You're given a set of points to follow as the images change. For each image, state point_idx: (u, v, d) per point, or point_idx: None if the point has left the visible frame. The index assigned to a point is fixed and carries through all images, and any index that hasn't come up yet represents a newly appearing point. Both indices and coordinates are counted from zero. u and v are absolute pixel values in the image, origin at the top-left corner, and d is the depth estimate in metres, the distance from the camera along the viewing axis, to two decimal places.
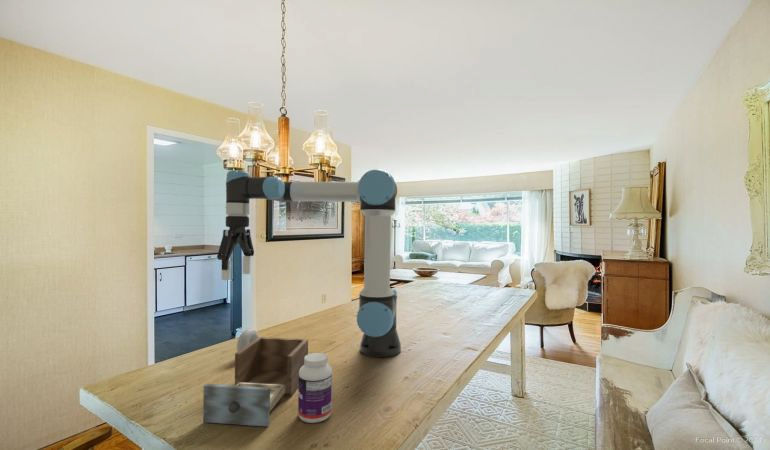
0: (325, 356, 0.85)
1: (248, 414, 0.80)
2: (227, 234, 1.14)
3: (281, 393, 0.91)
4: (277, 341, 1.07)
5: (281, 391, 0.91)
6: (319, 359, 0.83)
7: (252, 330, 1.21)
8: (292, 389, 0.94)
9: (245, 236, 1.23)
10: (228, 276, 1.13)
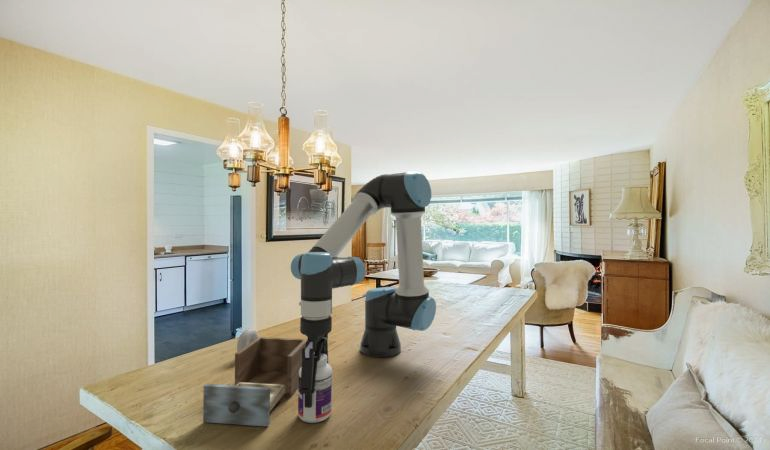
0: (325, 356, 0.85)
1: (248, 414, 0.80)
2: (308, 356, 0.78)
3: (281, 393, 0.91)
4: (277, 341, 1.07)
5: (281, 391, 0.91)
6: None
7: (252, 330, 1.21)
8: (292, 389, 0.94)
9: None
10: (313, 415, 0.80)
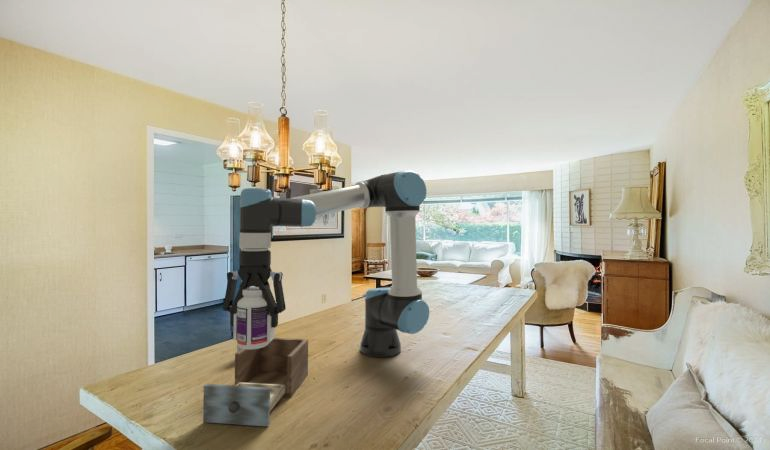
0: (252, 290, 0.86)
1: (248, 414, 0.80)
2: None
3: (281, 393, 0.91)
4: (277, 341, 1.07)
5: (281, 391, 0.91)
6: (246, 289, 0.87)
7: None
8: (292, 389, 0.94)
9: (260, 280, 0.86)
10: None
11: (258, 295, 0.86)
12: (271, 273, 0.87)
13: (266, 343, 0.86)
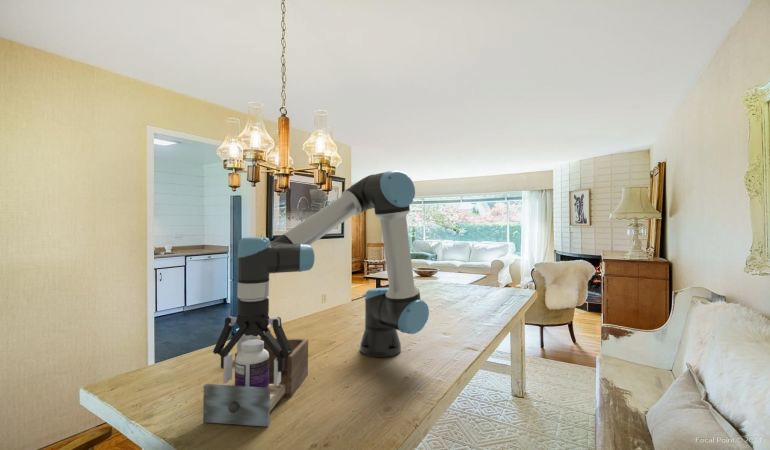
0: (250, 346, 0.86)
1: (248, 414, 0.80)
2: None
3: (281, 393, 0.91)
4: (277, 341, 1.07)
5: (281, 391, 0.91)
6: (244, 344, 0.87)
7: None
8: (292, 389, 0.94)
9: (259, 329, 0.86)
10: None
11: (256, 350, 0.86)
12: (269, 320, 0.87)
13: None
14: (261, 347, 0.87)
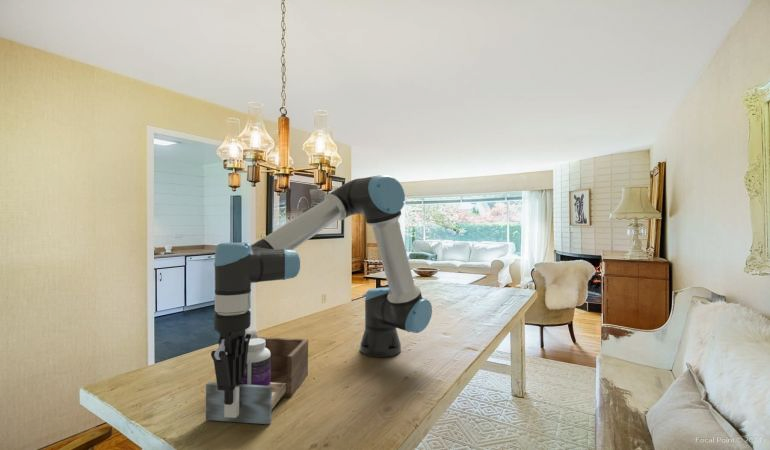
0: (252, 344, 0.87)
1: (250, 412, 0.81)
2: (219, 359, 0.73)
3: (282, 391, 0.92)
4: (277, 341, 1.07)
5: (282, 389, 0.92)
6: None
7: (252, 330, 1.21)
8: (292, 389, 0.94)
9: (243, 343, 0.80)
10: (234, 412, 0.77)
11: (258, 349, 0.87)
12: None
13: None
14: (263, 346, 0.88)
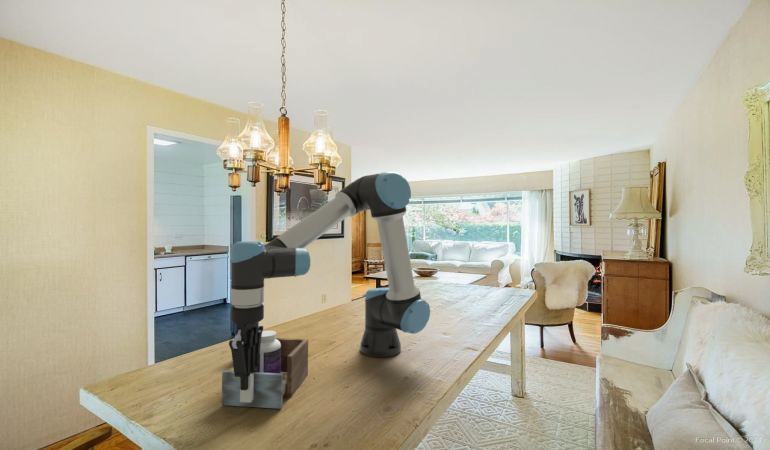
0: (264, 336, 0.94)
1: (263, 397, 0.87)
2: (236, 348, 0.79)
3: None
4: None
5: None
6: None
7: None
8: (292, 389, 0.94)
9: (256, 334, 0.86)
10: (249, 397, 0.84)
11: (270, 340, 0.94)
12: None
13: None
14: (274, 337, 0.95)
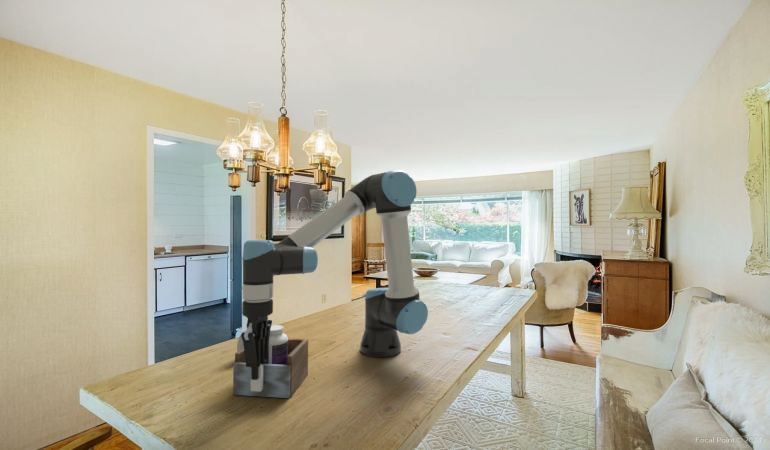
0: (272, 330, 0.99)
1: (272, 387, 0.93)
2: (248, 339, 0.85)
3: None
4: None
5: None
6: None
7: None
8: (292, 389, 0.94)
9: (266, 327, 0.92)
10: (259, 387, 0.90)
11: (278, 333, 0.99)
12: None
13: None
14: (281, 331, 1.00)
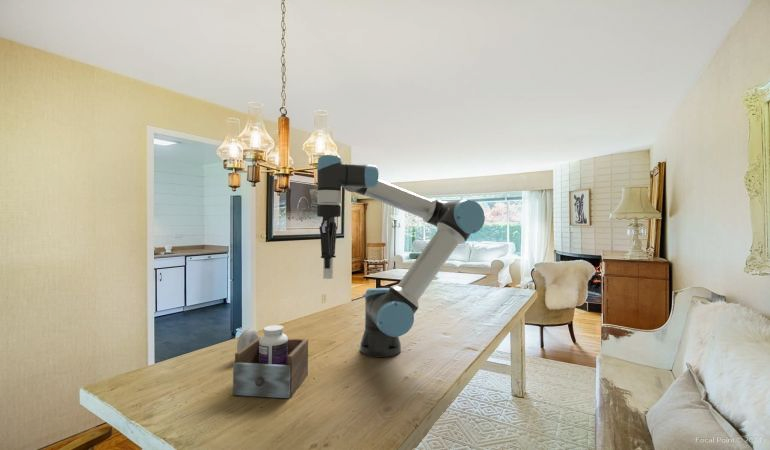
0: (272, 330, 0.99)
1: (272, 387, 0.93)
2: (325, 232, 1.05)
3: None
4: None
5: None
6: (266, 329, 1.00)
7: (252, 330, 1.21)
8: (292, 389, 0.94)
9: (335, 229, 1.12)
10: (330, 275, 1.10)
11: (277, 334, 0.99)
12: None
13: None
14: (281, 331, 1.00)
